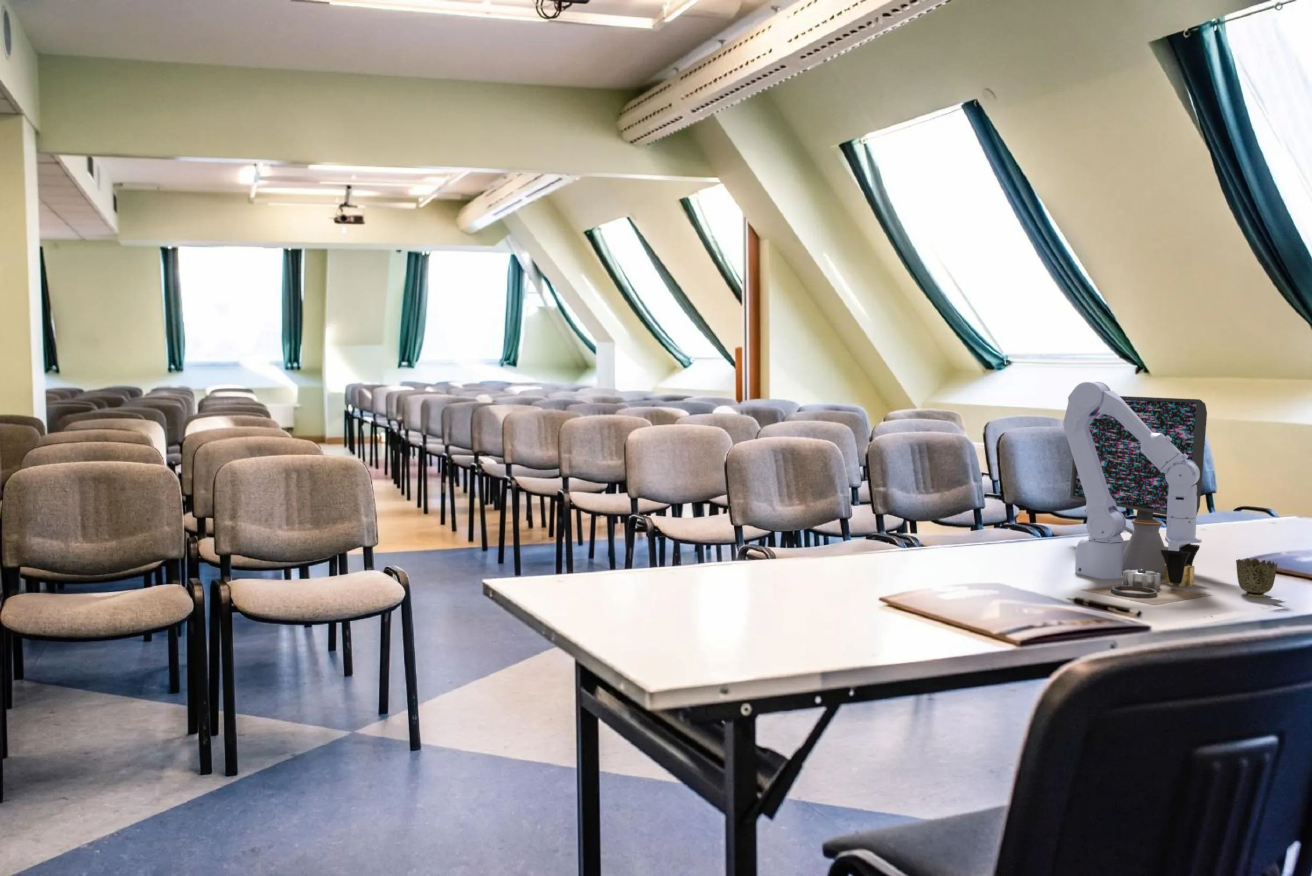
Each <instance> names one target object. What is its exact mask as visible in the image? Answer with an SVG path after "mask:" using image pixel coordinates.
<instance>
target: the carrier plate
mask: <svg viewBox="0 0 1312 876" xmlns="http://www.w3.org/2000/svg"><path fill="white" fill-rule="evenodd" d="M1113 586H1123V583H1119V584H1111V585H1104V586H1098V587H1091V588H1083V589H1081V591H1083V592H1088V593H1093V594H1096V595H1103V596H1108V597H1112V598H1117V599H1122V600H1126V601H1131V602H1132V601H1133V602H1137V603H1142V604H1147V605H1151V606H1156V605H1164V604H1168V603H1169V604H1170V603H1175V602H1176V603H1177V602H1181V601H1182V602H1183V601H1188V600H1193V599H1201V598H1207V597H1212V596H1213V595H1211V594H1206V593H1200V592H1195V591H1190V590H1185V589H1178V588H1174V587H1169V586H1164V585H1160V588H1158V589H1157V590H1156V591H1157V596H1156V597H1152V598H1134V597H1125V596H1120V595H1115V594H1113V593H1111V588H1112V587H1113ZM1118 591H1123V592H1129V593H1148V592H1143V591H1135V590H1118Z"/></svg>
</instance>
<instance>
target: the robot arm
mask: <svg viewBox="0 0 1312 876" xmlns="http://www.w3.org/2000/svg"><path fill="white" fill-rule="evenodd" d="M1120 396H1121V395H1119V394H1118V393H1116V391H1114V390H1111V388H1110V387H1109V386H1108V385H1107V384H1106V383H1104V382H1101V381H1091V382H1090V381H1083V382H1080V383H1079V384H1077V385H1076V386H1075V387H1074V388H1073V390H1072V391H1071V393H1069V395H1068V397H1067V407H1066V410H1065V414H1064V418H1063V422H1062V423H1063V424H1062V425H1063V429H1064V433H1065V436H1066V439H1067V442H1068V446H1069V449H1070V453H1071V455H1072V460H1073V459H1074V462H1075V465H1076V468H1077V471H1078V475H1079V478H1080V481H1081V484H1082V487H1083V491H1084V494H1085V497H1086V500H1087V501H1086V504H1085V509H1086V512H1085V513H1086V516H1087V518H1086V519H1087V521H1086V530H1087V533H1088V534H1089V535H1088V537H1083V538H1081V539H1080V540H1079V541H1078V542H1077V544H1076V548H1075V564H1074V565H1075V566H1074V567H1075V569H1074V573H1075V574H1077V575H1083V576H1087V577H1091V578H1094V579H1095V578H1096V579H1103V580H1119V579H1123V573H1122V564H1123V541H1124V538H1123V537H1122V533H1123V532H1124V531H1125V530H1124V529H1125V527H1127V520H1126V516H1125V515H1124V514H1123V513H1122V512H1121V510H1119V507H1117V506H1116V502H1115V501H1114V499H1113V498H1112V497H1111V495H1110V493H1109V490H1108V486H1107V483H1106V480H1105V477H1104V474H1103V471H1102V467H1101V464H1100V461H1099V458H1098V455H1097V452H1096V449H1095V445H1094V442H1093V439H1092V436H1091V433H1090V430H1089V426H1090V424H1091V423H1092V421H1093V420H1094V418H1095V416H1096V415H1097V414H1098V413H1102V414H1106V415H1110V416H1113V417H1115V418H1116V419H1117V420H1118V421H1119V422H1120V423H1121V424H1122V425H1123V426H1124V427H1125V428H1126V429H1127V430H1128V431H1129V432H1130V433H1131V434H1132V435H1134V436H1135V437H1136V438H1137V439H1138V440H1139V441H1140V442H1141V452H1142V453H1143V454H1144V455H1145V456H1146V457H1147V458H1148V459H1149V460H1150V461H1151V462H1152V463H1153V464H1154V465H1155V466H1156V467H1157V468H1158V469H1159V470H1160V471H1161V472H1162V473H1165V478H1166V481H1167V483H1168V484H1169V493H1168V501H1167V515H1166V527H1165V528H1166V529H1165V530H1166V533H1165V537H1164V541H1165V542H1166V543H1167V545H1168V546H1167V547H1168V549H1166V548H1162V549H1161V554H1162V556H1163V558H1164V560H1165V563H1166V566H1167V571H1168V576H1169V581H1170V583H1178V584H1181V582H1182V578H1183V573H1184V568H1185V564H1189V565H1190V566H1193V564H1194V560H1195V557H1196V555H1197V553H1198V552H1199V550H1200V548H1201V547H1200V546H1201V545H1198V544H1200V543H1202V542H1203V539H1202V538H1197V535H1196V534H1197V516H1198V513H1197V495H1196V493H1197V485H1194V484H1196V483H1197V481H1198V480H1199V477H1200V471H1199V468H1198V467H1197V465H1196V463H1195V462H1193V461H1191V460H1186V459H1187V458H1188V456H1187V455H1186V454H1182V453H1181V452H1180V451H1179V450H1178V449H1177V448H1176V447H1175V446H1174V445H1173V444H1172V443H1171V441H1172V438H1171V437H1170V436H1166V437H1165V436H1164V435H1163V434H1162V433H1153V432H1152V431H1151V430H1150V429H1149V428H1148V427H1147V426H1146V425H1145V423H1144V422H1143V421H1142V420H1141V419H1140V418H1139V417H1138V416H1137V415H1136V414H1135V412H1134V411H1133V410H1132V409H1131V408H1130V407H1129V406H1128V405H1127V404H1126V403H1125V401H1124V400H1123V399H1122V398H1121V397H1120ZM1193 485H1194V486H1193ZM1196 515H1197V516H1196ZM1196 543H1198V544H1196Z"/></svg>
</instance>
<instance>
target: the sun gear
mask: <svg viewBox="0 0 1312 876" xmlns="http://www.w3.org/2000/svg"><path fill="white" fill-rule="evenodd" d="M1160 575H1161V574H1160V573H1155V572H1154V571H1146V570H1145V569H1138V570H1125V571H1123V573H1122V584H1123V586H1139V587H1146V588H1151V589H1154V590H1157V589H1158V588H1160V586H1161V578H1160Z"/></svg>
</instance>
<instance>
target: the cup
mask: <svg viewBox="0 0 1312 876" xmlns="http://www.w3.org/2000/svg"><path fill="white" fill-rule="evenodd" d="M1235 563H1236V564H1235V565H1236V575H1237V583H1238V586H1239V587H1240V589H1242V590H1243V591H1244V592H1245V593H1244V595H1245V596H1248V597H1255V598H1264V597H1266V593H1269V592H1270V591H1272V588H1273V586H1274V583H1275V579H1276V575H1277V569H1278V568H1277V567H1278V562H1276V563H1275V561H1271V560H1268V561H1267V562H1266V560H1265V559H1263V560H1261V561H1260V560H1259V559H1258V558H1253V559H1251V560H1250V558H1249V557H1246V558H1245V560H1244V561H1241V559H1239V558H1238V559H1236V560H1235Z"/></svg>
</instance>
